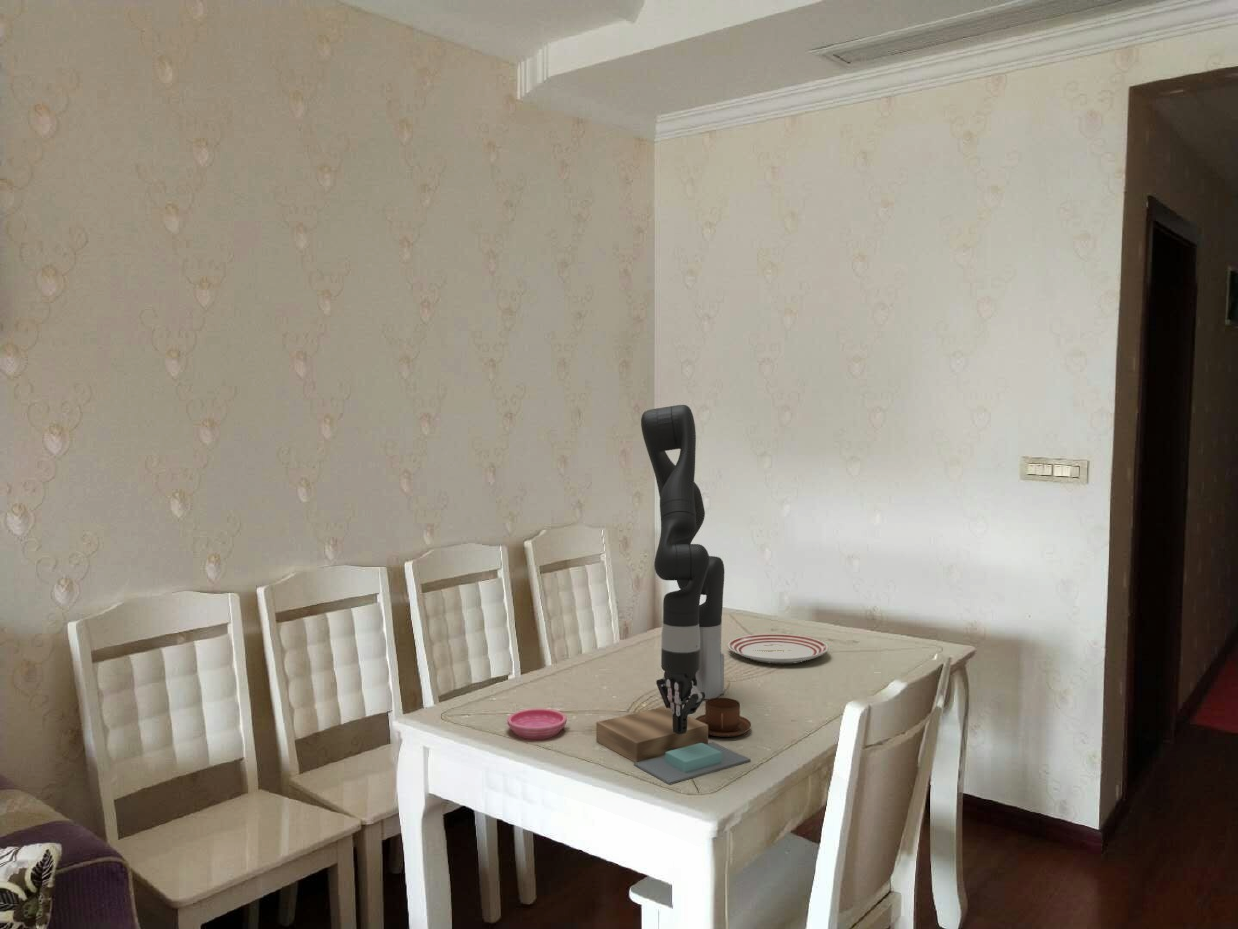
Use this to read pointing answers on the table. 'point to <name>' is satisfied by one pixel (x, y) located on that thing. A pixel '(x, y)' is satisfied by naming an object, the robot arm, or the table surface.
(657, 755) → the wooden block
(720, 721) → the cup and saucer
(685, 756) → the teal rectangular block
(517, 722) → the pink round bowl
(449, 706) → the table surface
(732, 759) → the mat
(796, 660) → the dinner plate
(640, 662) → the table surface
